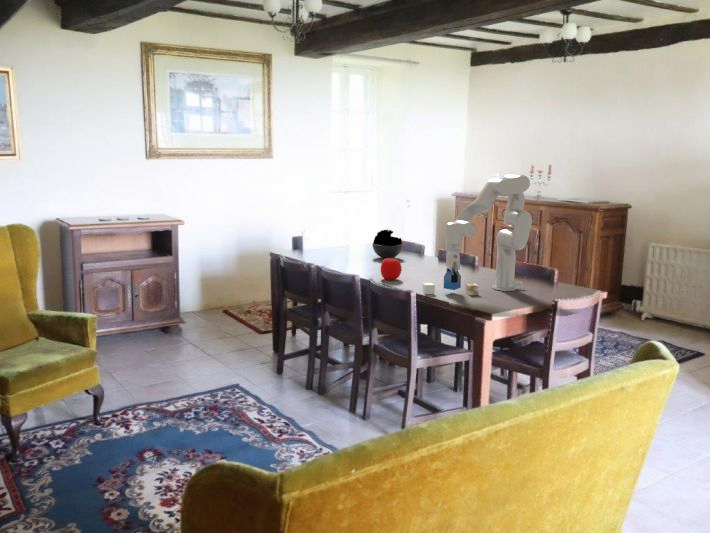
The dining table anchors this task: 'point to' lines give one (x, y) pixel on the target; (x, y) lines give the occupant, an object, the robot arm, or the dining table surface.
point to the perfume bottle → (449, 284)
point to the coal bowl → (387, 244)
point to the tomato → (390, 269)
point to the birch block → (472, 289)
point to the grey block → (428, 288)
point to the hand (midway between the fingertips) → (451, 280)
